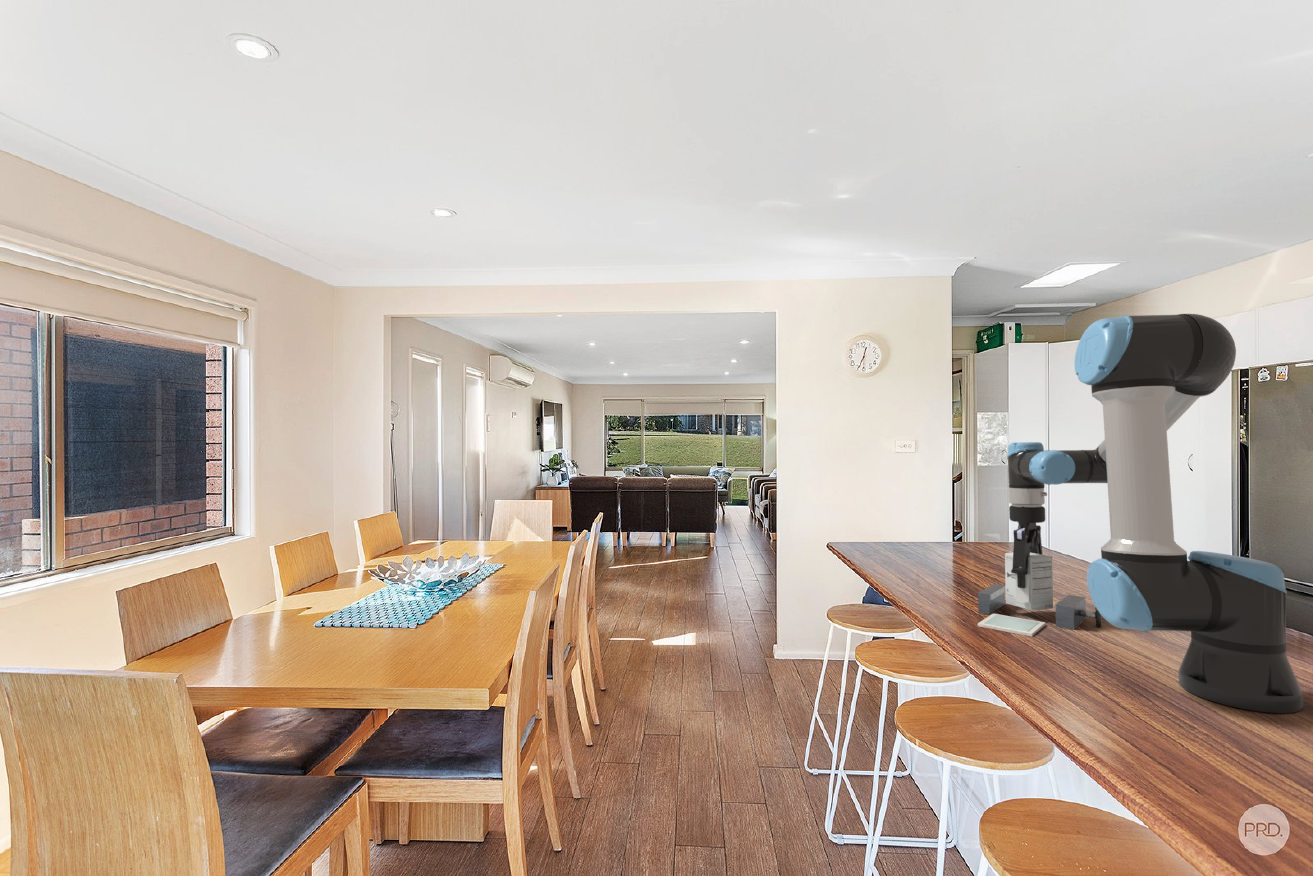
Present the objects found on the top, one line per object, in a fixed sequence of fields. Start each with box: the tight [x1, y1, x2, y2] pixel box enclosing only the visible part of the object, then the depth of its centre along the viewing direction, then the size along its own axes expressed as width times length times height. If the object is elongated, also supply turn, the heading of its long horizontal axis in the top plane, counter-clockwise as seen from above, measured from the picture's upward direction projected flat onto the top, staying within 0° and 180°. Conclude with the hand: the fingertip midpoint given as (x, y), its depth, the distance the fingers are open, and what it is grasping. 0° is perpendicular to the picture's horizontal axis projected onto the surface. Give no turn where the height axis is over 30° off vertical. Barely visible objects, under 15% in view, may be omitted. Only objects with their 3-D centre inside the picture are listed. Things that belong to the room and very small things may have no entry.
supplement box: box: [1004, 552, 1054, 612], centre depth 149 cm, size 7×7×13 cm
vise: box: [977, 583, 1102, 631], centre depth 148 cm, size 12×24×5 cm, turn 45°
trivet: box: [977, 613, 1046, 637], centre depth 142 cm, size 11×11×1 cm
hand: (1029, 597), depth 149 cm, fingers closed on supplement box, 9 cm apart
